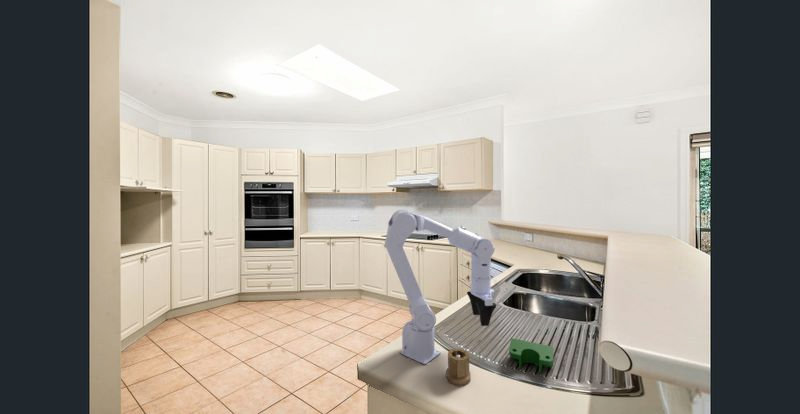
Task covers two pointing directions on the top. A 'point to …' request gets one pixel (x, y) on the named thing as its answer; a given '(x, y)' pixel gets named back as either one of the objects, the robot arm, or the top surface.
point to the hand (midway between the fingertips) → (480, 319)
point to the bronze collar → (458, 364)
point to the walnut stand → (457, 381)
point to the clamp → (531, 353)
